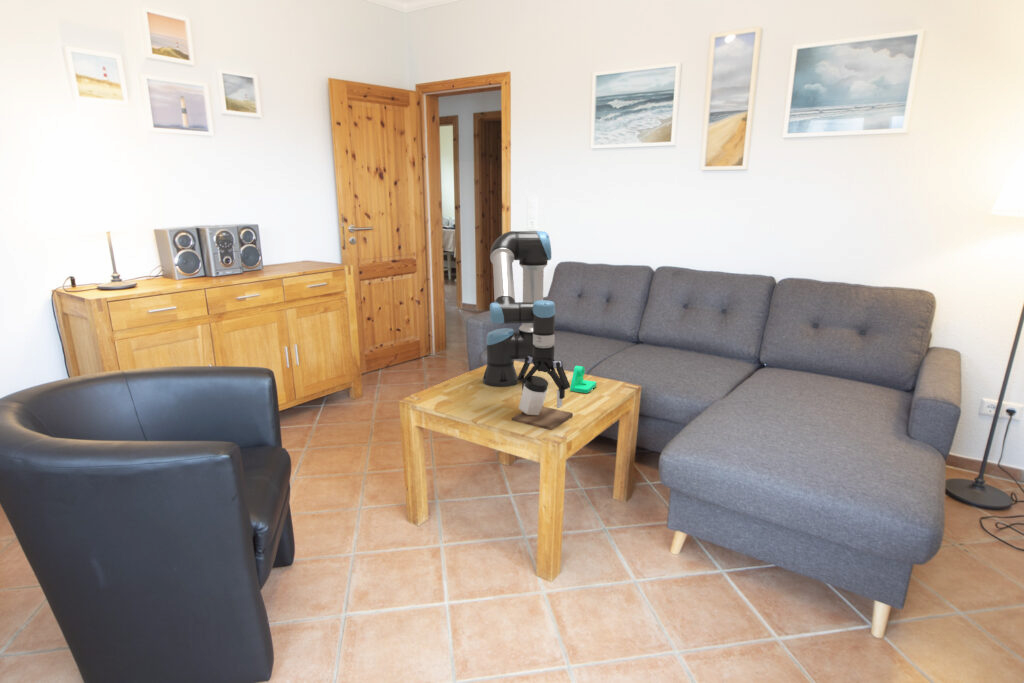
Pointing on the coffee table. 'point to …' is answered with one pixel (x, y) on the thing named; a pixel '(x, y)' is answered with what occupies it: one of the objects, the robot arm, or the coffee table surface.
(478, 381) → the coffee table surface
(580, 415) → the coffee table surface
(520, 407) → the jar
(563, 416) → the plinth
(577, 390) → the camera mount
